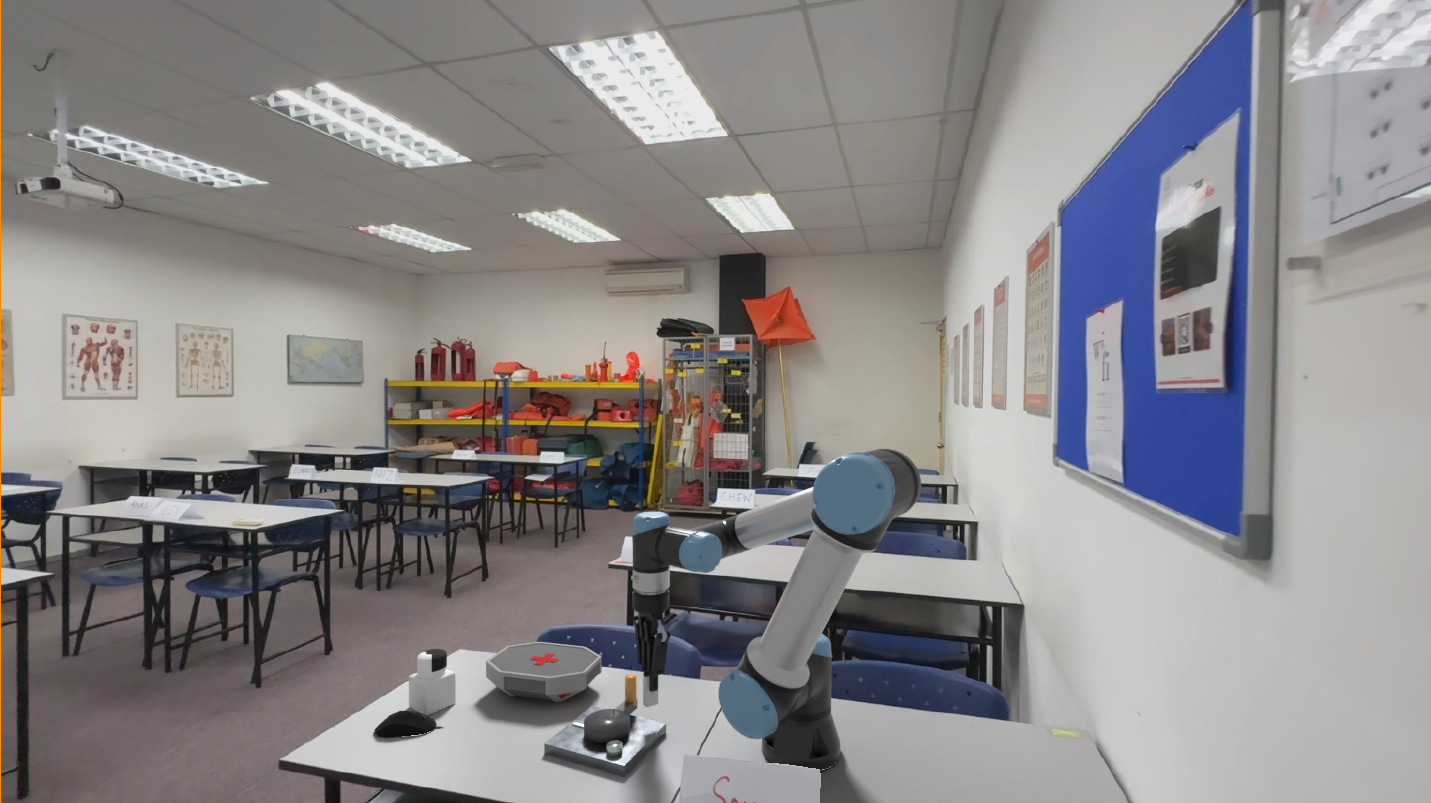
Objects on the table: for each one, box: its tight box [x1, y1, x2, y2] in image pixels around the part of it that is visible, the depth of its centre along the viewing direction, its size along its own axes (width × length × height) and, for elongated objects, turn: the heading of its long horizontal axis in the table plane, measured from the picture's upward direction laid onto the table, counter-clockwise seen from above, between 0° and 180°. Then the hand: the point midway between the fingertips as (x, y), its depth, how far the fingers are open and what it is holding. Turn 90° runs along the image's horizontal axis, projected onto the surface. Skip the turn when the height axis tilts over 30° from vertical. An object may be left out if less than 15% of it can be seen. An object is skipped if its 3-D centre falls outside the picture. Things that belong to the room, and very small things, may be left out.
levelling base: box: [543, 705, 667, 778], centre depth 125 cm, size 18×16×3 cm
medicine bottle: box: [408, 648, 457, 716], centre depth 140 cm, size 7×7×12 cm
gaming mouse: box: [374, 710, 445, 739], centre depth 130 cm, size 6×15×4 cm, turn 94°
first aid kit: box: [485, 641, 603, 703], centre depth 147 cm, size 18×8×25 cm
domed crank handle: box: [584, 673, 638, 743], centre depth 128 cm, size 15×9×7 cm, turn 156°
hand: (650, 704), depth 128 cm, fingers closed
